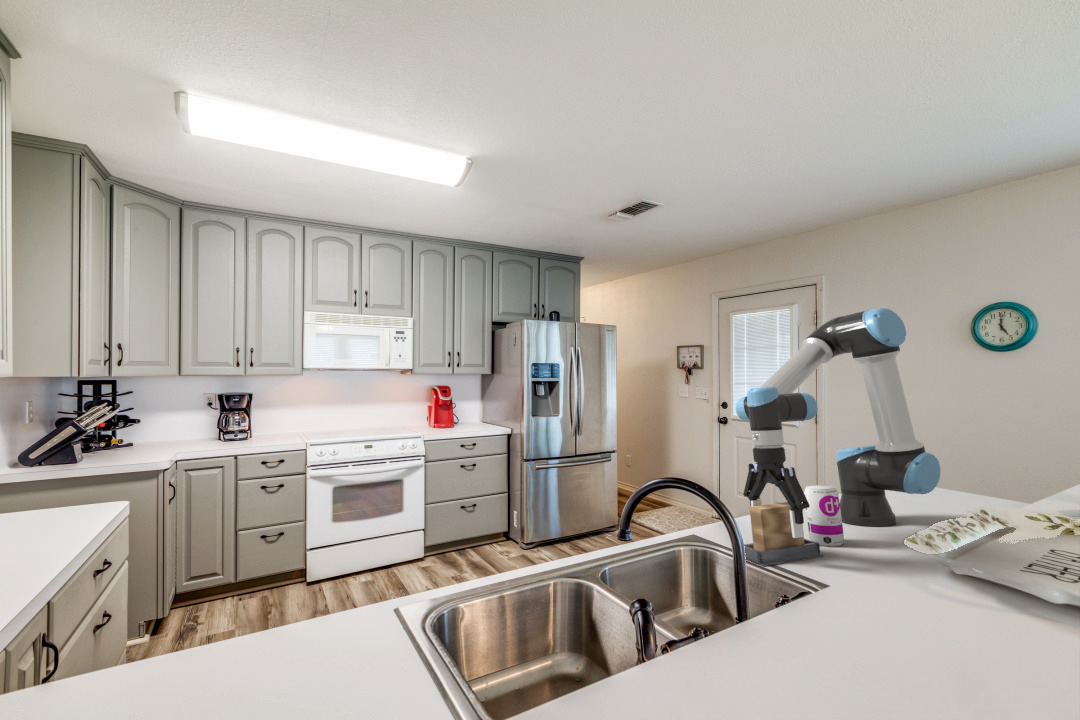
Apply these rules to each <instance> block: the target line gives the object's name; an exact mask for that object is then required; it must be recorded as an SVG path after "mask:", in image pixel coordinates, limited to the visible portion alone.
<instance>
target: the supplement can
mask: <svg viewBox="0 0 1080 720" xmlns="http://www.w3.org/2000/svg"><path fill="white" fill-rule="evenodd" d="M803 492H804V494H805V497H806V499H807V501H808V503H809V505H810V507H809V508H805V510H806V512H805V513H806V518H807V519H806V520H807V528H808V536H809V537H808V538H809V540H810V541H814V542H817V543H819V546H822V547H831V548H832V547H833V548H834V547H835V548H836V547H840V546H842V545H843V544H844V543H845V535H844V534H845V533H844V527H843V526H844V525H843V522H842V518H841V510H840V496H839V491H838V490H837V489H836V486H834V485H828V484H808V485H806V486H805V489H804V491H803Z"/></svg>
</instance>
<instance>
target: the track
mask: <svg viewBox="0 0 1080 720" xmlns="http://www.w3.org/2000/svg"><path fill="white" fill-rule="evenodd" d="M743 545H744V546H745V553H746V559H745V560H746V561H748V562H752V563H754V564H755V565H759V566H760V567H764V568H765V567H768V566H775V565H782V564H787V563H792V562H799V561H804V560H805V561H807V560H810V559H816V558H817V559H818V558H822V557H823V558H824V556H825V555H824V554H823V553H821V549H820V545H819V543H817V542H814V541H811V540H810V539H806V538H804V544H802V545H796V546H790V547H783V548H777V549H771V550H764V551H757V550H755V549H754V545H753V542H751V543H746V544H743Z"/></svg>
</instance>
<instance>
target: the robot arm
mask: <svg viewBox="0 0 1080 720" xmlns="http://www.w3.org/2000/svg"><path fill="white" fill-rule="evenodd" d="M906 328H907V327H906V326H905V324H904V321H903V320H902V318H901V317H900V315H898V314H897V313H896V312H895V311H893V310H892V309H890V308H885V307H879V308H878V307H877V308H872V309H870V308H869V309H867V310H863V311H859V312H856V313H855V312H854V313H850V314H847V315H843V316H842V315H841V316H838V317H835V318H832V319H829V320H828V321H826V322H825V323H823V324H822V325H820V326H819V327H817V328H816V329H815V330H814V331H812V333H810V334H809V335H808V336H807V337H806V338H805V339H804V340H803V341H802V343H801V347H800V349H798V350H797V351H796V352H795V354H793V355H792V356H791V357H790V358H789V359H788V360H787V361H786V362H785V363H784V364H783V365H782V366H781V367H780V368H779V369H778V370H777V371H776V372H774V373H773V374H772V376H770V377H769V378H768V379H767V380H766V381H765V382H764V383H763V384H761V386H760V387H752V388H749V389H748V390H747V391H746V395H745V396H742V397H740V398H739V399H738V400H737V401H736V403H735V413H736V415H737V416H738V418H739V419H741V420H742V421H743V422H749V426H750V434H751V435H750V436H751V444H752V446H754V447H753V449H752V456H753V461H754V463H748V464H747V465H748V472H747V477H746V482H745V485H744V489H743V493H742V494H743V496H744V497H747V499H748V500H749V503H750V507H753V506H761V505H763V504H762V499H761V495H762V494H763V491H764V489H765V487H766V486H767V484H771V485H775V486H774V487H777V488H778V490H779V491H780V492H781V494H782V496H783V497H784V499H785V500H786V502H788V503H789V505H790V506H791V509H790V510H789V511H790V520H791V528H792V537H793V538H800V537H805V533H804V532H805V531H804V523H805V520H804V512H803V511H804V509H805V510H806V508H809V507H810V505H809V503H808V501H807V499H806V497H805V494H804V491H803V488H802V486H801V484H800V482H799V479H798V478H797V476H796V474H797V473H796V469H795V468H794V467H793V466H791V467H785V466H784V463H785V462H786V459H787V458H786V450H785V447H784V444H785V441H784V431H783V425H782V424H783V423H790V422H791V423H792V422H805V421H809V420H812V419H813V418H815V416H816V415H817V413H818V409H819V407H818V402H817V400H816V399H815V397H814V396H813V395H811V394H810V393H805V392H795V391H796V390H797V389H798V388H799V387H800V386H801V385H802V384H803V383H804V382H805V381H807V379H808V378H809V377H810V376H811V375H812V374H813V373H814V372H815V371H816V370H817V369H818V368H819V367H820V366H821V365H822V364H826V363H827V364H828V363H829V362H830V361H831V360H832V359H833V358H835V357H837V356H840V355H843V354H848V353H850V354H851V355H852V359H853V360H854V361H855V362H857V363H859V364H860V367H861V372H862V375H863V379H864V383H865V387H866V391H867V396H868V399H869V404H870V407H871V412H872V416H873V420H874V425H875V429H876V433H877V437H878V443H877V444H875V445H866V446H854V447H846V448H839V449H838V450H837V451H836V465H837V473H838V478H839V479H838V480H839V485H840V494H841V497H840V499H839V502H840V510H841V518H842V521H844V522H843V523H845V522H846V523H845V524H849V525H856V526H864V527H887V526H889V527H890V526H893V525H896V524H897V518H896V514H895V513H894V512H893V509H892V507H891V505H890V503H889V501H888V498H887V496H886V491H890V492H897V493H905V494H909V495H914V494H915V495H926V494H930V493H931V492H933V491H934V490H935V488H936V487H937V486H938V485H939V482H940V477H941V465H940V461H939V460H938V458H937V457H936V456H935V454H933V453H930V452H927V451H926V447H925V445H924V443H923V442H921V441H919V440H918V439H916V435H915V432H914V427H913V424H912V423H913V422H912V420H911V416H910V415H911V414H910V412H909V408H908V407H909V406H908V403H907V400H906V395H905V391H904V387H903V383H902V379H901V375H900V371H899V366H898V363H897V360H896V358H897V356H898V355H899V353H900V352H901V348H900V346H901V345H902V344H903V343H905V341H906V337H907V329H906ZM795 504H796V505H795Z"/></svg>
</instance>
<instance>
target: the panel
mask: <svg viewBox="0 0 1080 720" xmlns="http://www.w3.org/2000/svg"><path fill="white" fill-rule="evenodd" d="M795 505H796V504H795ZM790 509H791V506H790V505H789V503H788V502H787V501H785V502H778V503H770V504H762V505H761V506H753V507H751V506H749V514H750V515H749V516H750V524H751V534H752V535H751V536H752V543H753V545H754V549H755V550H757V551H764V550H771V549H777V548H783V547H790V546H796V545H802V544H804V539H805V538H804V537H805V536H804V537H800V538H793V537H792V528H791V520H790V511H789V510H790Z"/></svg>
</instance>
